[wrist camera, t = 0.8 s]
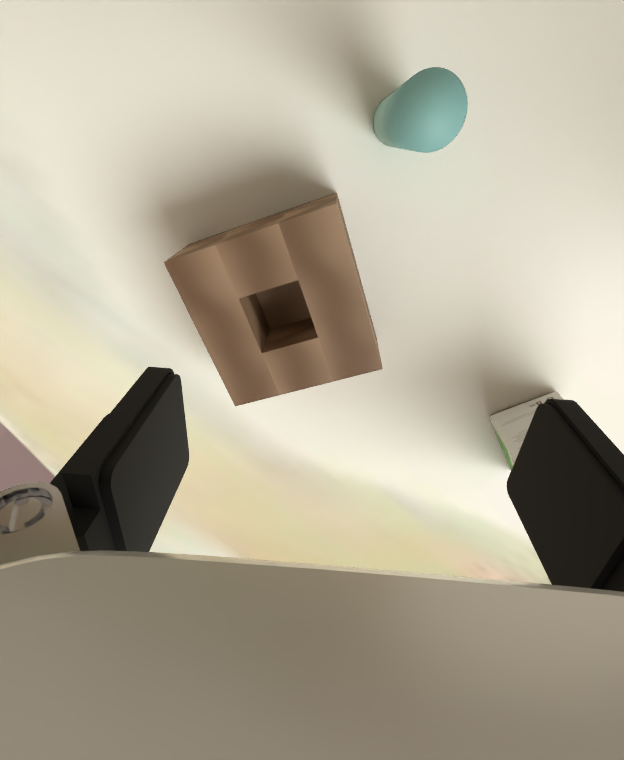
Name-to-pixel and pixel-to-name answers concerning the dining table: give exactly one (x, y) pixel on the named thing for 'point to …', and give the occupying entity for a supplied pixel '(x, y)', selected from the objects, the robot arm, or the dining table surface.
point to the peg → (422, 112)
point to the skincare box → (516, 425)
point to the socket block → (279, 302)
